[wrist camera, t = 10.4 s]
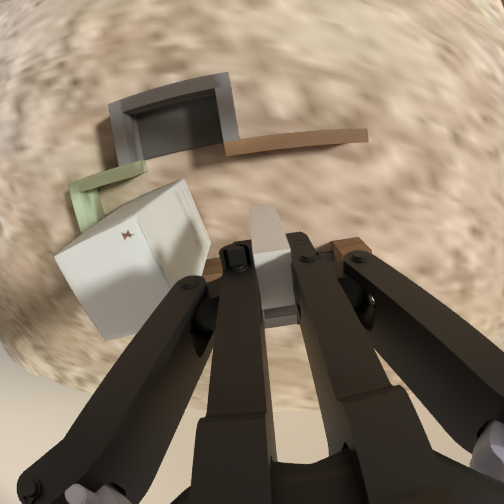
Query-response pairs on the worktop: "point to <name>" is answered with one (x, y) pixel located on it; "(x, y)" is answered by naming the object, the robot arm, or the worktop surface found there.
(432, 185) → the worktop surface
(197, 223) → the supplement box
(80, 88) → the worktop surface
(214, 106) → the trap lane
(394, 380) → the worktop surface
